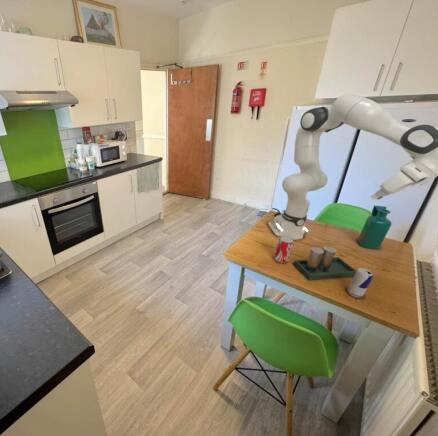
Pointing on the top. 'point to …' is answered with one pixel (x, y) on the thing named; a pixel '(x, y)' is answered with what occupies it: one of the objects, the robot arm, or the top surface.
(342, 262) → the drinks tray
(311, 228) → the top surface
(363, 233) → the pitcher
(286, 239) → the soda can
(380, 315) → the top surface
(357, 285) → the energy drink
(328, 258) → the matching cans
